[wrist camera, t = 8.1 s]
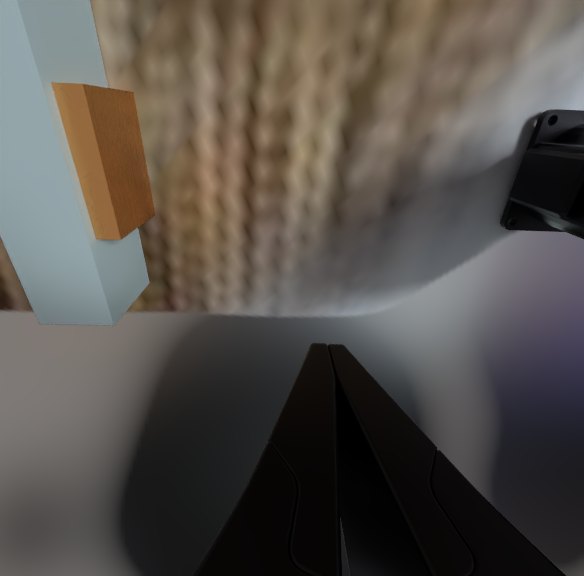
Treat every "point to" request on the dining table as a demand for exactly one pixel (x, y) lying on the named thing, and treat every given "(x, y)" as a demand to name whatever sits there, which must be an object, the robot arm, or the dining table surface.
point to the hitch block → (55, 171)
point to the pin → (107, 156)
